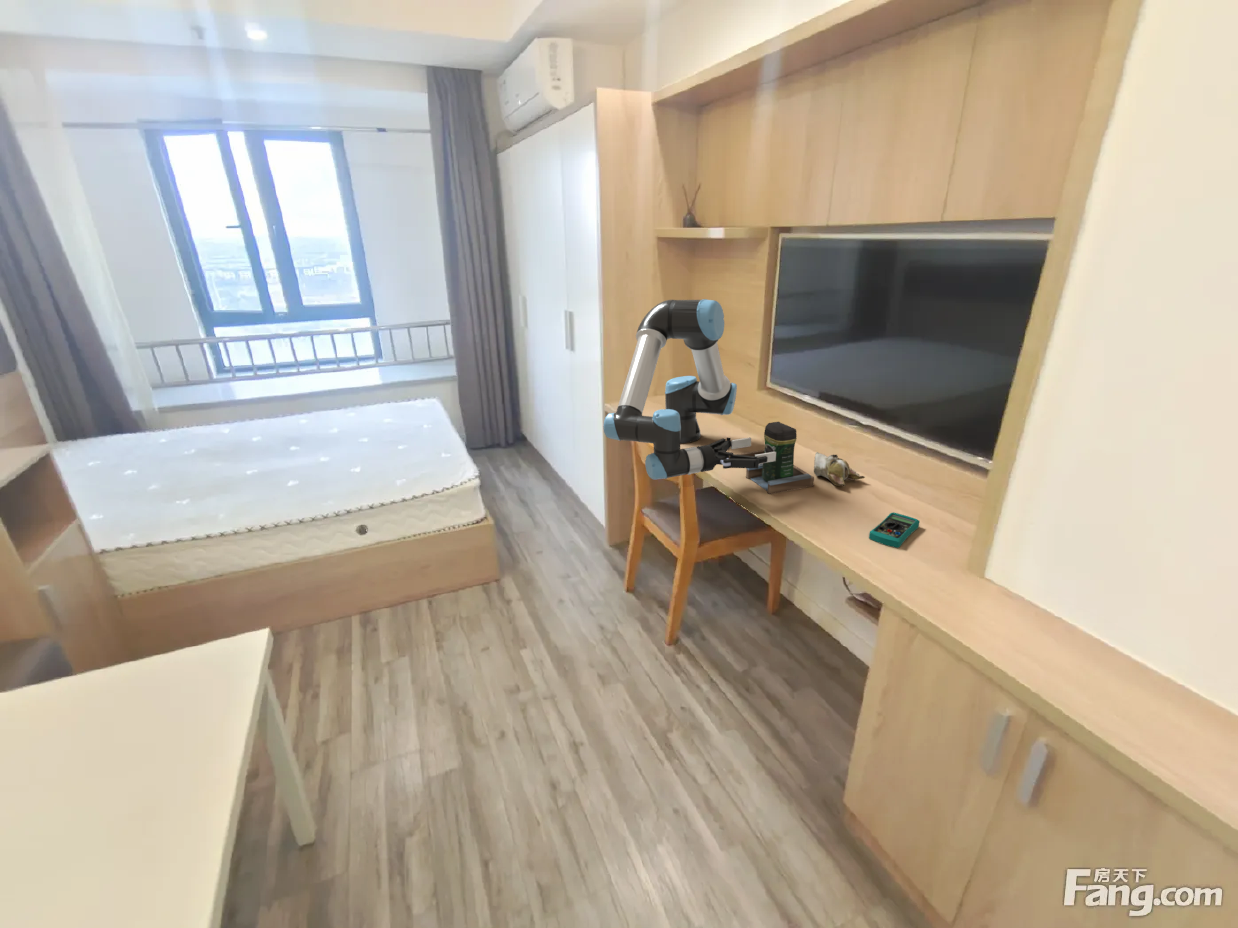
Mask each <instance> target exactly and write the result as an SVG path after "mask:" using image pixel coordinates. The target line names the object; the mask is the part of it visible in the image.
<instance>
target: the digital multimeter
mask: <svg viewBox="0 0 1238 928" xmlns="http://www.w3.org/2000/svg"><path fill="white" fill-rule="evenodd" d="M919 527H920V520H919V519H918V518H914V517H911V516H909V515H904V514H901V513H898V512H889V514H888V515H887V516H886V517H885V518H884V519H883V520H882V521H881V522H880V523H879V524H878V525H877V526H875V527H874V528H872V529H871V530H870V531H869V534H868V539H869V540H871V541H874V542H875V543H878V544H880V545H884V546H888V547H891V548H897V549H898V548H900V547H901V546H902V545H903V543H904V542H905V541H906V540H907V538H909V537H910V535H912V534H913V533H914V532H915V531H917V530H918V529H919Z"/></svg>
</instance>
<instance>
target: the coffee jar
mask: <svg viewBox="0 0 1238 928" xmlns="http://www.w3.org/2000/svg"><path fill="white" fill-rule="evenodd" d="M763 433H764V434H763V439H764V449H763V450H764V453H769V452H776V461H773V462H767V463H762V464H763V468H762V478H763V480H765V481H766V482H768V481H771V480H776V479H782V478H787V477H793V465H794V464H795V463H794V461H795V460H794V459H795V445H796V441H797V437H798V436H797V429H796V428H795V427H792V426H790V425H787V424H785V423H783V422H780V421H774V422H773V421H772V422H769V423H767V424H766V425H765V428H764V432H763Z"/></svg>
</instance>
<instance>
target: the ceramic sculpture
mask: <svg viewBox="0 0 1238 928" xmlns="http://www.w3.org/2000/svg"><path fill="white" fill-rule="evenodd" d="M813 474H814V475H815V476H816V477H820V476H822V477H824V478H826V479H828V480H829V481H830V482H831V484H833V485H834V486H837V487H846V486H847V485H846V482H845V480H847V479H849V480H853V481H855V480H861V479H862V480H863V479H865V478H866V476H864V475H860V474H859V473H858V472H857V471H856V470H855V469H852V468H851V467H850V465H849V463H848V461H846V460H844V459H843V458H839V457H838V454H830V455H828V456H827V455H825V454H823V453H820V452H818V451H816V452H815V456H814V466H813Z"/></svg>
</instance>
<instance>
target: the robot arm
mask: <svg viewBox="0 0 1238 928" xmlns="http://www.w3.org/2000/svg"><path fill="white" fill-rule="evenodd" d="M724 317H725V313H724V309H723V307H722V305H721V303H720V302H718V301H717V300H714V299H713V300H712V299H705V298H703V299H666V300H663V301H661V302H659V303H657V304H656V305H655V306H654V307H653V308H651V309H650V310H649V311H648V312H647V313H646V314H645V316H643V318H642V320H641V321H640V323H639V325H638V328H637V331H636V334H635V339H636V341H637V342H636V344H635V345H636V346H635V348H634V352H633V354H632V358H631V362H630V364H629V369H628V373H627V376H626V379H625V382H624V386H623V389H622V392H621V395H620V397H619V401H618V405H617V408H616V411H615V412H612V413H611V412H609V413H607V414H606V416H605V417H604V420H603V426H602V427H603V433H604V435H605V437H606V438H608V439H611V440H616V441H620V442H621V441H624V442H625V441H628V442H638V443H644V444H653V452H651V453H649V454H647V455H646V458H645V461H644V462H645V465H644V466H645V470H646V474H647V475H648V477H649V478H650V479H652V480H662V479H663V480H667V479H669V478H674V477H679V476H685V475H688V476H690V475H692V474H696V473H700V472H701V473H704V472H709V471H713V470H714V469H715V467H716V466H717V465H721V466H722V469H724V470H725V469H746V468H758V466H759V464H763V463H767V462H773V461H776V452H769V453H763V454H757V455H755V456H746V455H736V454H737V453H736V454H735V453H734V452H730V451H729V450H730V449H731V450H738V449H743V448H749V447H752V437H743V438H737V439H731V437H726V438H725V437H724V438H721V439H719V440H715V441H714V442H711V443H710V444H705V445H698V446H690V447H686V448H681V444H687V442H688V443H693V442H696V441H698V440H700V438H701V429H700V427H699V423H698V420H697V419H698V418H697V413H700V414H709V415H720V416H723V415H724V416H725V415H726V416H729V415H731V414H732V413H733V411H734V409H735V408H734V407H735V404H736V403H735V402H736V397H737V391H738V388H737V387H738V385H737V384H736V383H735V382H731V381H730V379H729V378H728V376H726V374H724V373H725V372H724V369H723V363H722V359H721V353H720V351H719V345H718V342H719V340H720V339H721V338H722V337H723V334H724V330H725V318H724ZM669 339H677V340H683V343H684V344H685V346H686V347H687V348H688V349H690V351H691V354H692V356H693V361H694V364H695V368H696V371H697V372H696V373H697V376H698V379H699V381H698V379H697V377H696V376H694V375H684V376H677V377H673V378H671V379H669V380H667V381H666V383H665V390H664V391H665V392H664V394H665V395H664V397H665V401H664V402H665V409H664V408H663V409H657V410H655V411H654V412H653V415H652V416H649V415H643V413H644V408H645V405H646V403H647V398H648V396H649V392H650V388H651V385H652V381H653V377H654V375H655V372H656V371H655V370H656V367H657V364H658V362H659V361H658V360H659V357H660V353H661V351H662V348H664V347H665V346H666V345H667V342H668V340H669ZM692 441H693V442H692ZM728 451H729V452H728ZM729 457H730V459H729Z"/></svg>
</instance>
